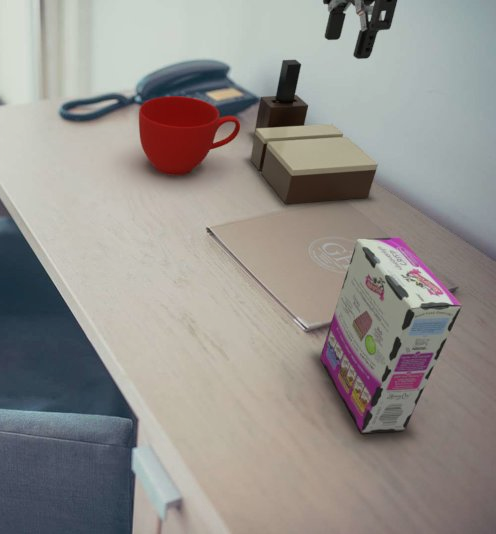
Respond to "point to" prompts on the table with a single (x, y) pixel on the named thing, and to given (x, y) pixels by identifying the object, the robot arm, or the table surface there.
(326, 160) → the cake
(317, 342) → the table surface
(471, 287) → the table surface
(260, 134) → the cake slice
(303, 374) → the table surface
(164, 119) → the ceramic cup
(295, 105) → the knife block
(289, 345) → the table surface
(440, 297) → the candy bar box
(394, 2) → the robot arm
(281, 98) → the knife
